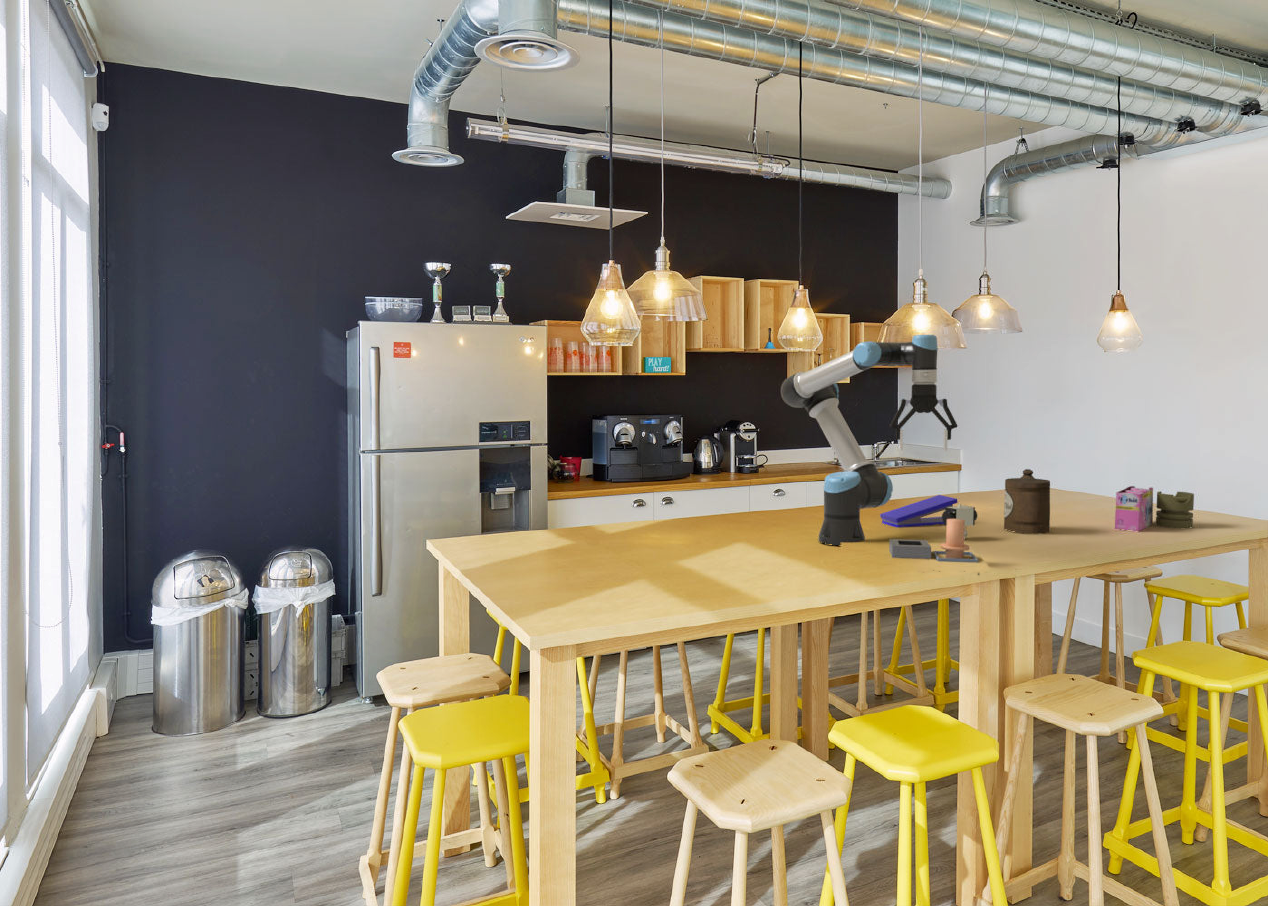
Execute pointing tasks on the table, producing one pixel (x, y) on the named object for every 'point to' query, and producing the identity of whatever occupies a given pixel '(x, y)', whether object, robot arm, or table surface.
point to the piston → (1175, 510)
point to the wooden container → (1027, 504)
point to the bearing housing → (910, 549)
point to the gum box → (1134, 508)
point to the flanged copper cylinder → (955, 539)
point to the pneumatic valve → (960, 515)
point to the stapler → (918, 512)
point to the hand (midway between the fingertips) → (923, 450)
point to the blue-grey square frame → (955, 559)
